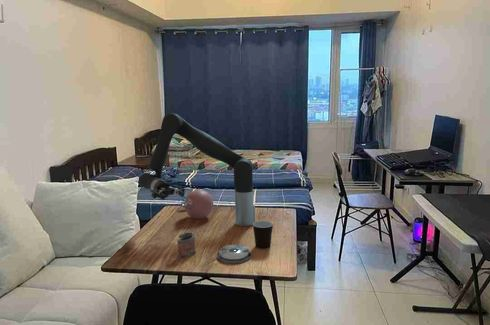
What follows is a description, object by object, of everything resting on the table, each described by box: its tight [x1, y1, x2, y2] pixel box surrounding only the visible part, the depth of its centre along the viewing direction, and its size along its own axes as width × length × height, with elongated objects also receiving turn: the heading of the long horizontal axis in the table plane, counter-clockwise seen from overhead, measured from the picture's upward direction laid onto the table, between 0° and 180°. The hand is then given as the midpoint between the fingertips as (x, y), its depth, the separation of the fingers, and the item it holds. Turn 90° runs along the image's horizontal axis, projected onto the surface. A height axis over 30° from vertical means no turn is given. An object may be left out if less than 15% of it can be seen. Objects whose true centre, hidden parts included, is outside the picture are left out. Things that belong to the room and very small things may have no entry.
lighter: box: [176, 230, 197, 260], centre depth 154 cm, size 8×3×10 cm, turn 134°
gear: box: [181, 195, 187, 205], centre depth 220 cm, size 11×6×10 cm
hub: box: [216, 244, 252, 265], centre depth 153 cm, size 14×14×3 cm
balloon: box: [182, 189, 214, 220], centre depth 199 cm, size 15×20×15 cm
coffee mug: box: [252, 220, 274, 250], centre depth 164 cm, size 12×9×10 cm
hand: (173, 196), depth 162 cm, fingers open, 8 cm apart
